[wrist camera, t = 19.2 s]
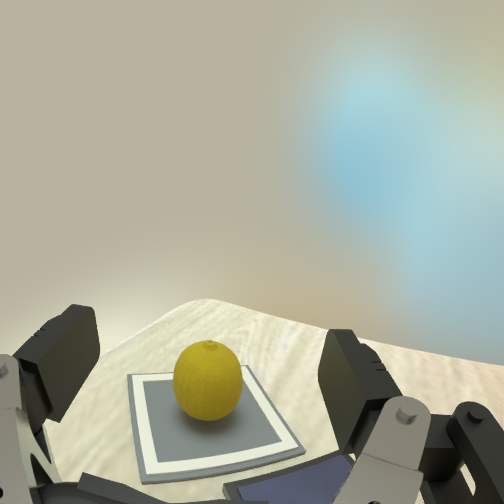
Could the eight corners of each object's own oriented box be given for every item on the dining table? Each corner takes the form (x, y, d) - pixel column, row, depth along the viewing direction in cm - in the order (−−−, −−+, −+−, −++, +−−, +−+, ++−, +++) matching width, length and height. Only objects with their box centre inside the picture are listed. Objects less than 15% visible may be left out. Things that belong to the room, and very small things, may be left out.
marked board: (247, 367, 32) (248, 362, 32) (304, 453, 20) (306, 448, 20) (127, 377, 27) (126, 372, 27) (142, 484, 15) (140, 479, 15)
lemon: (250, 418, 24) (263, 345, 22) (204, 449, 20) (207, 374, 18) (207, 387, 27) (212, 317, 25) (161, 410, 23) (157, 336, 21)
